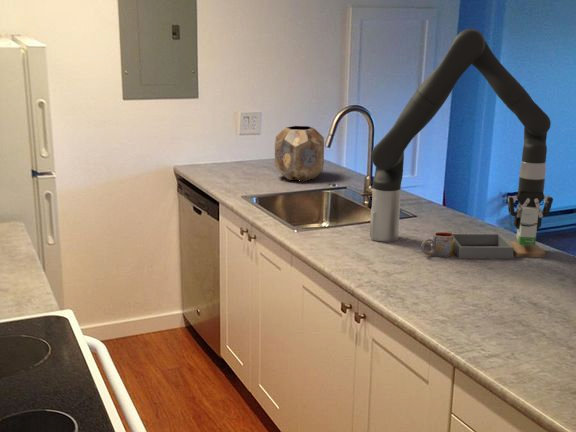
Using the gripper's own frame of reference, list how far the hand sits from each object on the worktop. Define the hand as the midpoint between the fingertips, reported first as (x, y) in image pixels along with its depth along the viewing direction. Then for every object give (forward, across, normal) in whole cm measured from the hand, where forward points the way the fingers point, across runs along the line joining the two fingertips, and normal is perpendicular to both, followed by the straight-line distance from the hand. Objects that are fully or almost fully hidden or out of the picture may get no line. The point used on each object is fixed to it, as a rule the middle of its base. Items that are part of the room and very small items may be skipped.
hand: (527, 228), depth 220 cm
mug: (+8, -29, -4) cm, 31 cm away
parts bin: (+8, -14, 0) cm, 16 cm away
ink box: (+5, 0, 0) cm, 5 cm away
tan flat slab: (+8, 0, 0) cm, 8 cm away
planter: (+8, -70, +107) cm, 128 cm away
